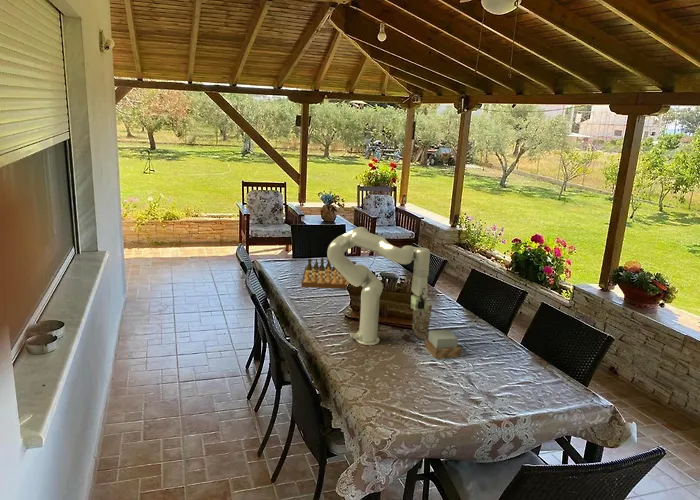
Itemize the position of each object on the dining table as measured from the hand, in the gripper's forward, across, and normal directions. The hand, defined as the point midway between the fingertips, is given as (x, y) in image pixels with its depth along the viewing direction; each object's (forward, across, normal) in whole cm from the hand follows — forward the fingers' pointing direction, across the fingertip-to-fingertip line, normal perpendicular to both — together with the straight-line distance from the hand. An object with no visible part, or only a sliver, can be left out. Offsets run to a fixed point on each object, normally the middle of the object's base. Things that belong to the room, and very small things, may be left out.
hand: (418, 306), depth 266 cm
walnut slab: (+24, +6, +12) cm, 28 cm away
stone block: (+23, -16, +8) cm, 29 cm away
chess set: (+22, -116, -18) cm, 119 cm away
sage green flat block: (+19, +6, +12) cm, 23 cm away
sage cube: (+1, 0, 0) cm, 1 cm away
